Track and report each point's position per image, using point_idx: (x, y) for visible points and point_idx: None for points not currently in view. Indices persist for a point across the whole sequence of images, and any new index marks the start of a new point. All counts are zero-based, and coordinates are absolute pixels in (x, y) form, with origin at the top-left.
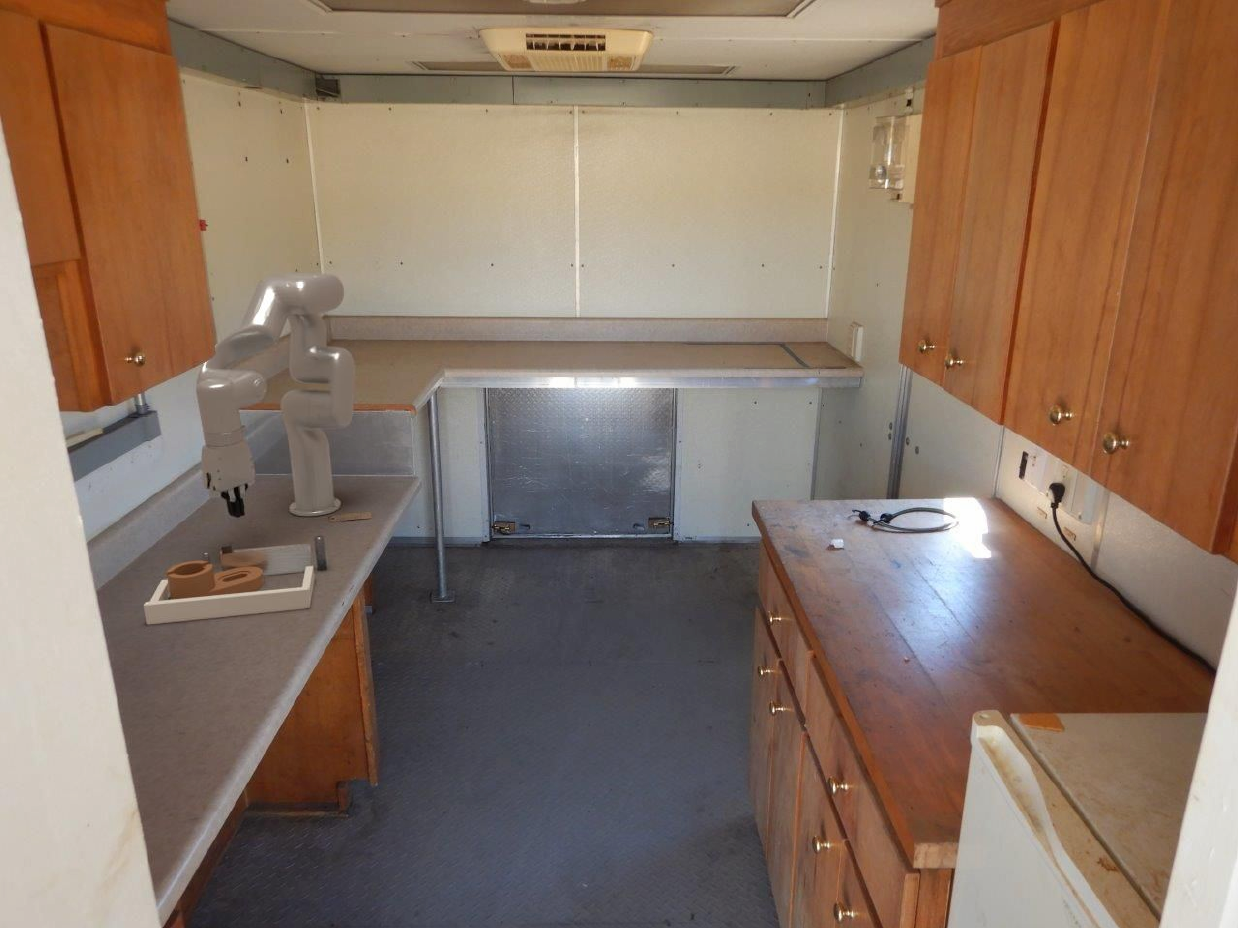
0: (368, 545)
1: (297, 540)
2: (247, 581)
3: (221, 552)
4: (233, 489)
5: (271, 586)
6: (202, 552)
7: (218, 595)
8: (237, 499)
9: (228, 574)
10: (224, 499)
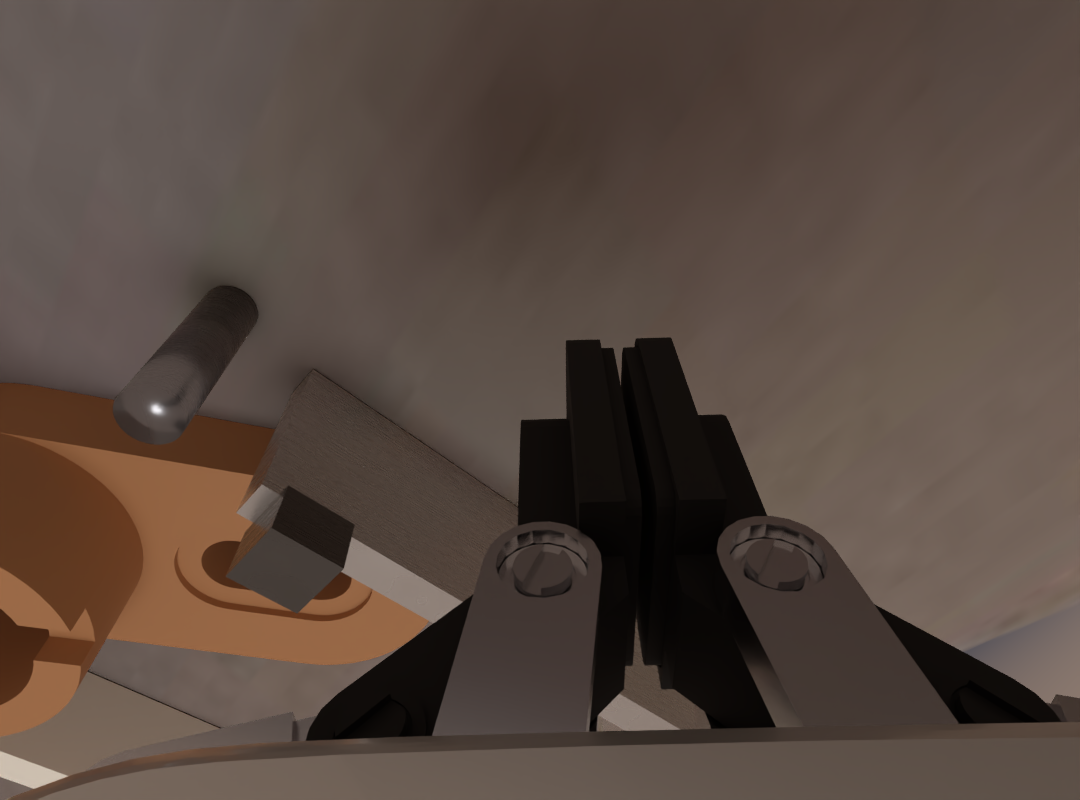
0: (1042, 603)
1: (1016, 237)
2: (295, 661)
3: (253, 507)
4: (759, 685)
5: (424, 628)
6: (127, 393)
7: (58, 773)
8: (660, 635)
9: None
10: (504, 544)
